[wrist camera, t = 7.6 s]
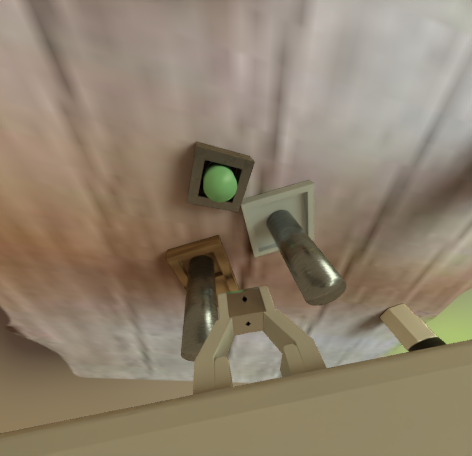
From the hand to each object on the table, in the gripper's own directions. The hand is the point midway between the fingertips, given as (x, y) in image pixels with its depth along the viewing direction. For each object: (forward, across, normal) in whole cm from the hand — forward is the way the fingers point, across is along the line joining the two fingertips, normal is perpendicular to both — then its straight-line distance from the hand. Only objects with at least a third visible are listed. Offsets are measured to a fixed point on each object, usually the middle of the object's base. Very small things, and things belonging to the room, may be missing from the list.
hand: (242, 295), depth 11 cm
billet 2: (+18, -9, +7) cm, 21 cm away
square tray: (+19, -9, +7) cm, 22 cm away
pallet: (+19, +4, +17) cm, 25 cm away
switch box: (+18, 0, -2) cm, 18 cm away
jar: (+20, -48, +46) cm, 70 cm away
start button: (+18, 0, -2) cm, 18 cm away
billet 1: (+17, +5, +13) cm, 22 cm away
